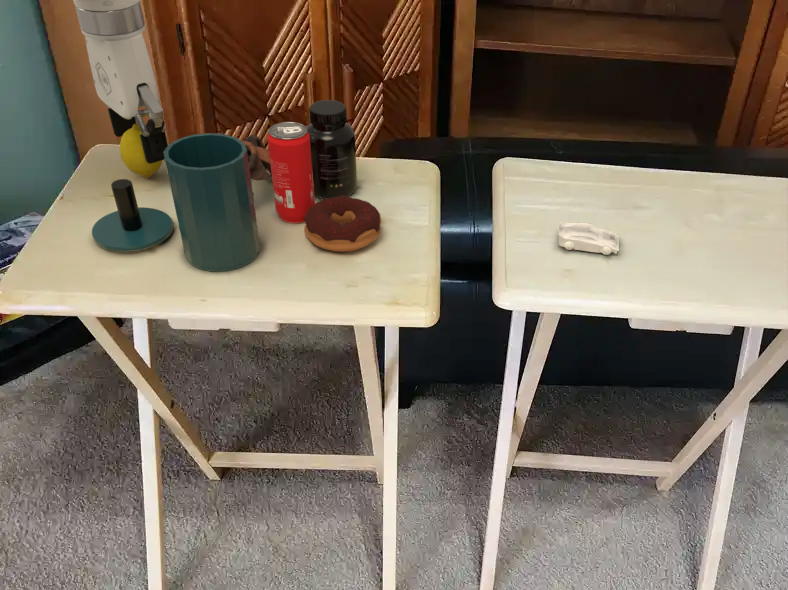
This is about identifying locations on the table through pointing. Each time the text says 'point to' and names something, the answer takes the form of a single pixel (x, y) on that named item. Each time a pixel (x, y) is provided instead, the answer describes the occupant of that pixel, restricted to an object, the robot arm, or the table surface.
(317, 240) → the donut
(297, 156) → the beverage can
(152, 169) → the fruit
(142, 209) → the lid
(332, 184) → the supplement bottle
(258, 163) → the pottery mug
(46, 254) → the table surface
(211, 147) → the pot
